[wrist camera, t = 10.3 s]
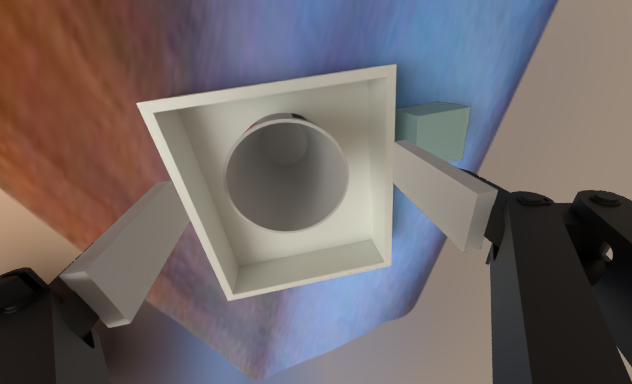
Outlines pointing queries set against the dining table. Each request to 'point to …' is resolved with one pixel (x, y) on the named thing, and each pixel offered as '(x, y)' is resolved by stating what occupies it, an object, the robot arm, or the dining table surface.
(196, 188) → the tote
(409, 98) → the dining table surface
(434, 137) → the cube
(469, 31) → the dining table surface
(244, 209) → the cup
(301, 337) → the dining table surface
